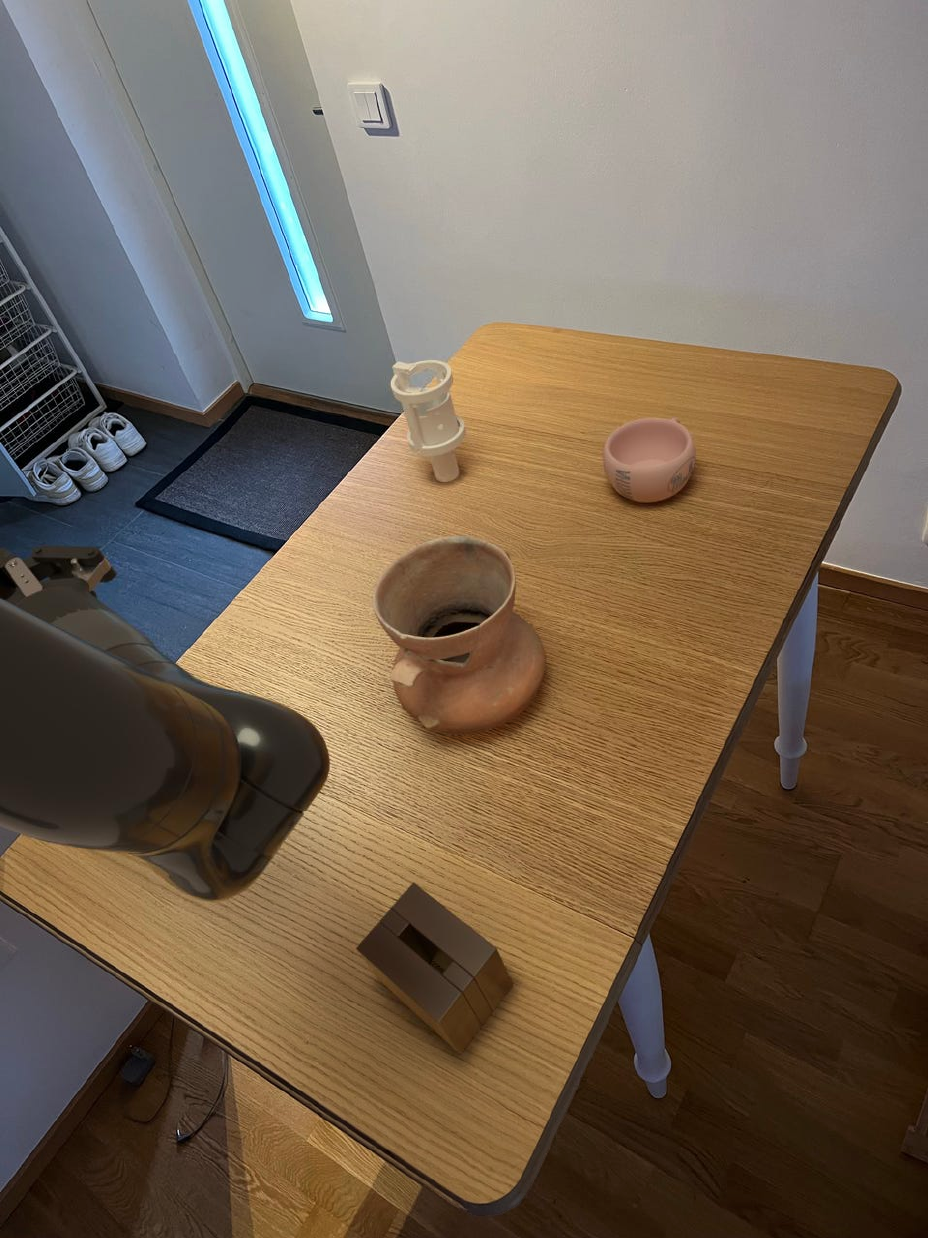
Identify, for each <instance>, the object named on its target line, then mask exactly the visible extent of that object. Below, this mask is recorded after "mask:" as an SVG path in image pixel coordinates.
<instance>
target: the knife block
mask: <svg viewBox="0 0 928 1238" xmlns="http://www.w3.org/2000/svg"><path fill="white" fill-rule="evenodd" d="M355 950H356V951H357V952H358V954H359V955H360V956H361V957H362V959H363V960H364V962H365V963H366V964H367V965H368V967H369V968H370V969H371V970H372V972H373V973H374V974H375V975H376V977H377V978H378V979H379V981H380V982H381V983H382V984H383V986H385V988H387V989H388V991H390V992H391V993H392V994H393V995H394V996H395V997H397V999H399V1000H400V1001H401V1003H403V1004H404V1005H405V1006H406V1007H408V1008H409V1010H411V1011H412V1012H413V1013H414V1014H415V1015H416V1016H417V1017H419V1018H420V1019H421V1021H423V1022H424V1023H425V1024H426V1025H427V1026H428V1027H429V1028H430V1029H431V1030H432V1031H434V1032H435V1034H437V1035H438V1036H439V1037H440V1038H441V1039H442V1040H443V1041H444V1042H445V1043H446V1044H448V1045H449V1046H450V1047H451V1048H452V1049H453V1050H454V1051H456V1053H457V1054H459V1055H462V1053H463V1052H464V1051H465V1049H466V1048H467V1046H469V1044H470V1043H471V1041H472V1040H473V1038H474V1037H475V1036H476V1035H477V1034H478V1032H479V1031H480V1029H482V1026H483V1025H484V1024H485V1023H486V1022H487V1020H488V1019H489V1018H490V1016H491V1015H492V1014H493V1012H494V1011H495V1009H496V1008H497V1007H498V1006H499V1004H500V1003H501V1002H502V1000H503V999H504V998H505V996H506V995H507V994H508V992H509V991H510V990H511V988H513V986H514V983H513V981H512V979H511V977H510V974H509V972H508V970H507V968H506V965H505V964H504V961H503V959H502V957H501V954H500V953H499V950H498V948H497V947H496V946H495V945H493V944H492V943H491V942H490V941H488V940H487V939H486V938H485V937H484V936H482V935H481V934H480V933H478V932H477V931H476V930H474V929H473V928H472V927H471V926H470V925H469V924H467V923H466V922H465V921H464V920H463V919H461V918H459V917H458V916H457V915H456V914H454V913H453V912H452V911H451V910H449V909H448V908H447V907H445V906H444V905H443V904H442V903H440V902H439V901H438V900H437V899H436V898H434V897H433V896H432V895H430V894H429V892H427V891H426V890H424V889H423V888H422V887H420V886H419V885H418V884H417V883H415V882H412V883H411V884H410V885H409V887H407V889H405V891H404V892H403V893H402V894H401V896H400V897H399V898H398V899H397V900H396V901H395V902H394V904H393V905H392V906H391V908H389V909H388V911H387V912H386V913H385V914H384V915H383V916H382V918H380V920H379V921H378V922H377V923H376V925H375V926H374V927H373V928H372V929H371V930H370V931H369V933H368V934H367V935H366V936H365V937H364V938H363V939H362V941H360V943H359V944H358V945H357V946H356V947H355ZM432 961H433V962H434V964H436V965H437V966H438V967H439V968H440V969H442V970H443V973H442V974H441V973H440V972H439V971H438V970H437V969H435V968H434V967H433V966H432V965H431V964H430V963H431V962H432Z"/></svg>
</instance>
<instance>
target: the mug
mask: <svg viewBox="0 0 928 1238" xmlns="http://www.w3.org/2000/svg"><path fill="white" fill-rule="evenodd" d="M696 453H697V452H696V444H695V441H694V436H693V435H692V433H691V432H690V430H689V429H688V428H687V427H685V425H683V424H682V423H681V421H680V419H679V418H678V417H672V418H670V419H669V418H664V417H642V418H638V419H634V420H631V421H628V422H626V423H624V424H622V425H620V426H619V427H617V428H616V429H615V430H613V431H612V432H611V433H610V434H609V436H608V437H607V438H606V441H605V442H604V445H603V450H602V463H603V471H604V473H605V476H606V478H607V480H608V482H609V483H610V484H611V486H612V487H613V489H614V490H615V491H616V492H617V493H618V494H619V495H621V496H622V497H623V498H626V499H628V500H630V501H633V502H638V503H656V502H661V501H664V500H667V499H669V498H671V497H674V495H676V494H677V493H678V492H680V491H681V490H682V489H683V488H684V487H685V485H687V483H688V481H689V479H690V477H691V475H692V474H693V470H694V467H695V464H696Z"/></svg>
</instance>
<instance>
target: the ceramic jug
mask: <svg viewBox="0 0 928 1238" xmlns="http://www.w3.org/2000/svg"><path fill="white" fill-rule="evenodd" d="M509 554H510V553H508V552H507V550H505V549H504V548H503V547H501V546H499V545H496V544H493V543H490V542H489V541H488V540H486V539H484V538H480V537H476V536H471V535H454V536H453V535H450V536H442V537H441V536H440V537H438V538H433V539H432V540H427V541H424V542H422V543H419V544H416V546H413V547H411V548H410V549H409V550H407V551H405V552H403V553H401V554H400V555H398V556H397V557H396V558H395V559H394V560H392V562H390V563H389V564H388V565H387V566H386V568H384V570H383V571H382V573H381V575H379V577H378V579H377V581H376V582H375V583H376V584H375V587H374V588H373V594H372V607H373V611H374V614H375V617H376V619H377V621H378V623H379V624H380V626H381V628H382V629H383V631H384V632H385V633H386V634H387V636H388V638H390V639H391V640H392V641H393V643H395V645H396V646H398V647H399V648H398V651H397V653H396V656H395V659H394V663H393V669H392V671H391V673H390V676H389V680H390V681H391V682H392V684H393V685H392V686H393V689H394V692H395V696H396V698H397V700H398V702H399V703H400V705H401V706H402V708H403V709H404V711H406V713H408V715H409V716H411V718H412V719H414V720H415V721H416V722H418V723H420V724H421V725H423V726H424V727H425V729H426V730H427V731H428V732H429V733H437V734H442V735H443V734H445V735H453V736H467V735H468V736H469V735H475V734H481V733H484V732H488V731H491V730H493V729H496V728H499V727H501V726H503V725H505V724H507V723H508V722H510V721H512V720H513V719H515V718H516V717H518V716H519V715H520V714H521V713H522V712H523V711H525V709H526V708H527V707H528V706H529V705H530V704H531V703H532V701H533V700H534V699H535V697H536V695H537V694H538V692H539V690H540V688H541V686H542V683H543V679H544V676H545V673H546V672H545V671H546V661H547V660H546V651H545V647H544V644H543V641H542V639H541V637H540V635H539V633H538V632H537V631H536V629H535V628H534V627H533V626H532V624H531V623H529V621H527V620H526V619H525V618H524V617H522V616H521V615H519V614H517V613H516V612H514V607H515V601H516V591H517V589H516V588H517V586H516V585H517V584H516V583H517V581H516V580H517V579H516V571H515V568H514V565H513V563H512V559H511V556H510V555H509Z"/></svg>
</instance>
